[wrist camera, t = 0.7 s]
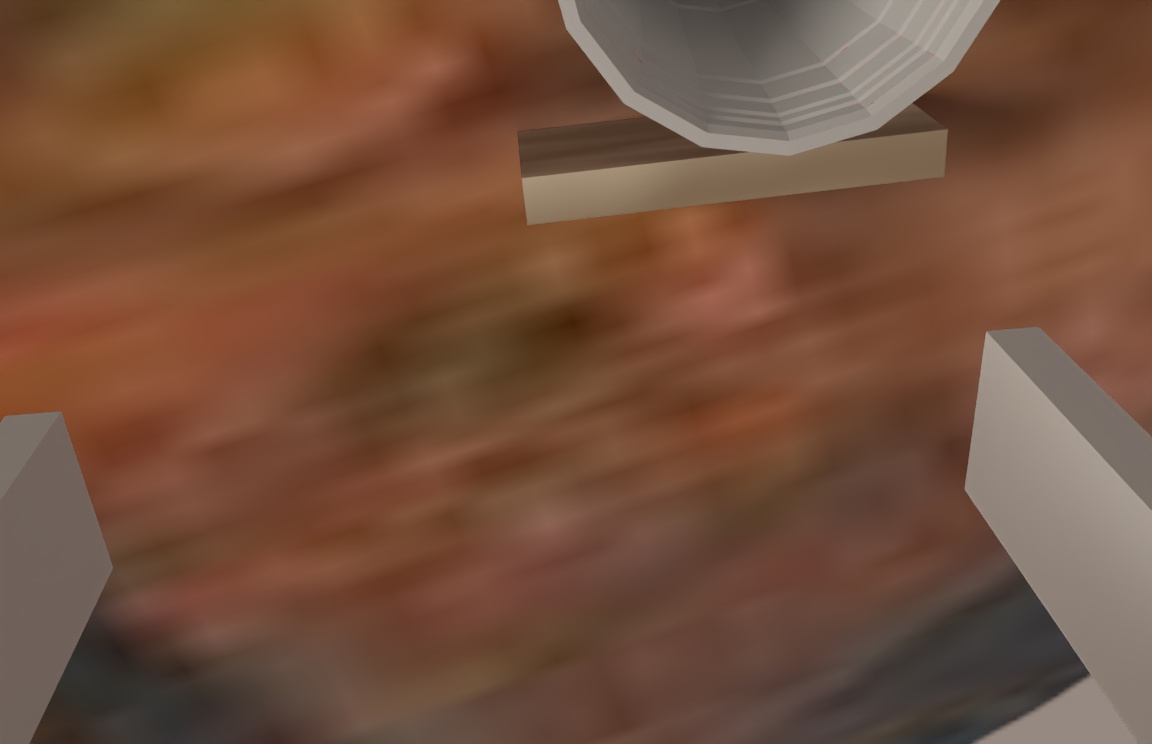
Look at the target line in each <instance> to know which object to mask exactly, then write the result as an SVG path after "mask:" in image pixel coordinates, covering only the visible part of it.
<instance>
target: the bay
mask: <svg viewBox="0 0 1152 744" xmlns="http://www.w3.org/2000/svg"><path fill="white" fill-rule="evenodd" d="M517 133H518V144H519V154H520V165H521V176H522V184H523V192H524V201H525V209H526V217H527V225H533V224H541V223H550V222H558V221H567V220H576V219H584V218H593V217H602V216H610V215H619V214H627V213H636V212H645V211H653V210H662V209H671V208H679V207H688V206H696V205H705V204H714V203H722V202H731V201H740V200H748V199H757V198H765V197H774V196H783V195H791V194H800V193H809V192H817V191H826V190H834V189H843V188H852V187H860V186H869V185H878V184H886V183H895V182H904V181H912V180H921V179H929V178H938V177H945V163H946V149H947V135H948V129H947V128H945V127H944V126H943V125H941V124H940V123H939V122H937V121H936V120H935V119H933V118H932V117H931V116H929V115H928V114H927V113H925V112H924V111H923V110H921V109H920V108H918V107H917V106H916V105H914V104H913V103H911V104H910V105H909V106H907V107H906V108H905V109H904V110H902V111H901V112H900V113H898V114H897V115H896V116H894V117H893V118H892V119H890V120H889V121H888V122H886V123H885V124H884V125H883V126H881V127H880V128H879V129H877V130H874V131H871V132H868V133H864V134H861V135H858V136H854V137H851V138H848V139H844V140H841V141H838V142H834V143H831V144H828V145H824V146H821V147H818V148H814V149H811V150H808V151H804V152H801V153H798V154H794V155H791V156H786V155H776V154H766V153H756V152H746V151H736V150H726V149H716V148H706V147H701V146H699V145H697V144H695V143H694V142H692V141H690V140H688V139H687V138H685V137H683V136H681V135H679V134H678V133H676V132H674V131H672V130H670V129H669V128H667V127H665V126H663V125H661V124H660V123H658V122H656V121H654V120H652V119H651V118H649V117H644V118H635V119H626V120H617V121H609V122H600V123H591V124H582V125H574V126H565V127H556V128H547V129H539V130H530V131H521V132H517Z"/></svg>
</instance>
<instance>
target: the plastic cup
mask: <svg viewBox="0 0 1152 744" xmlns="http://www.w3.org/2000/svg"><path fill="white" fill-rule="evenodd" d="M558 1H559V5H560V8H561V12H562V16H563V19H564V23H565V26H566V29H567V31H568V32H569V33H570V34H571V36H572V37H573V38H574V40H575V41H576V42H577V43H578V45H579V46H580V47H581V49H582V50H583V51H584V53H585V54H586V55H587V56H588V58H589V59H590V60H591V62H592V63H593V64H594V66H595V67H596V68H597V69H598V71H599V72H600V73H601V75H602V76H603V77H604V78H605V80H606V81H607V82H608V84H609V85H610V86H611V88H612V89H613V90H614V91H615V93H616V94H617V95H618V97H619V98H620V99H621V100H622V102H623V103H624V104H625V105H627V106H629V107H631V108H633V109H634V110H636V111H638V112H640V113H642V114H643V115H645V116H647V117H649V118H651V119H652V120H654V121H656V122H658V123H660V124H661V125H663V126H665V127H667V128H669V129H670V130H672V131H674V132H676V133H678V134H679V135H681V136H683V137H685V138H687V139H688V140H690V141H692V142H694V143H695V144H697V145H699V146H701V147H706V148H716V149H726V150H736V151H746V152H756V153H766V154H776V155H786V156H791V155H794V154H798V153H801V152H804V151H808V150H811V149H814V148H818V147H821V146H824V145H828V144H831V143H834V142H838V141H841V140H844V139H848V138H851V137H854V136H858V135H861V134H864V133H868V132H871V131H874V130H877V129H879V128H880V127H881V126H883V125H884V124H885V123H886V122H888V121H889V120H890V119H892V118H893V117H894V116H896V115H897V114H898V113H900V112H901V111H902V110H904V109H905V108H906V107H907V106H909V105H910V104H911V103H913V102H914V101H915V100H917V99H918V98H919V97H921V96H922V95H923V94H924V93H926V92H927V91H928V90H930V89H931V88H932V87H934V86H935V85H936V84H938V83H939V82H940V81H942V80H943V79H944V78H945V77H947V76H948V75H949V74H951V73H952V72H953V71H954V70H955V68H956V67H957V65H958V64H959V62H960V61H961V59H962V58H963V56H964V55H965V53H966V52H967V50H968V49H969V47H970V46H971V44H972V43H973V41H974V40H975V38H976V36H977V35H978V33H979V32H980V30H981V29H982V27H983V26H984V24H985V23H986V21H987V20H988V18H989V17H990V15H991V14H992V12H993V11H994V9H995V8H996V6H997V5H998V3H999V2H1000V0H558Z"/></svg>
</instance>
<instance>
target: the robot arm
mask: <svg viewBox="0 0 1152 744" xmlns="http://www.w3.org/2000/svg"><path fill="white" fill-rule="evenodd" d="M965 491H966V492H967V494H968V495H969V497H970V498H971V500H972V501H973V503H974V504H975V505H976V507H977V508H978V510H979V511H980V513H981V514H982V516H983V517H984V519H985V520H986V522H987V523H988V524H989V526H990V527H991V529H992V530H993V532H994V533H995V535H996V536H997V538H998V539H999V541H1000V542H1001V544H1002V545H1003V546H1004V548H1005V549H1006V551H1007V552H1008V554H1009V555H1010V557H1011V558H1012V560H1013V561H1014V563H1015V564H1016V565H1017V567H1018V568H1019V570H1020V571H1021V573H1022V574H1023V576H1024V577H1025V579H1026V580H1027V582H1028V583H1029V585H1030V586H1031V587H1032V589H1033V590H1034V592H1035V593H1036V595H1037V596H1038V598H1039V599H1040V601H1041V602H1042V604H1043V605H1044V606H1045V608H1046V609H1047V611H1048V612H1049V614H1050V615H1051V617H1052V618H1053V620H1054V621H1055V623H1056V624H1057V626H1058V627H1059V628H1060V630H1061V631H1062V633H1063V634H1064V636H1065V637H1066V639H1067V640H1068V642H1069V643H1070V645H1071V646H1072V647H1073V649H1074V650H1075V652H1076V653H1077V655H1078V656H1079V658H1080V659H1081V661H1082V662H1083V664H1084V665H1085V667H1086V668H1087V669H1088V671H1089V672H1090V674H1091V675H1092V677H1093V678H1094V680H1095V681H1096V682H1097V684H1098V686H1099V687H1100V688H1101V690H1102V691H1103V693H1104V694H1105V696H1106V697H1107V699H1108V700H1109V702H1110V703H1111V705H1112V706H1113V708H1114V709H1115V710H1116V712H1117V713H1118V715H1119V716H1120V718H1121V719H1122V721H1123V722H1124V724H1125V725H1126V727H1127V728H1128V729H1129V731H1130V732H1131V734H1132V735H1133V737H1134V738H1135V740H1136V741H1137V743H1138V744H1152V437H1151V436H1150V435H1149V434H1148V433H1147V432H1146V431H1145V430H1144V429H1143V428H1142V427H1141V426H1140V425H1139V424H1138V423H1137V422H1136V421H1135V420H1134V419H1133V418H1132V417H1131V416H1130V415H1129V414H1127V413H1126V412H1125V411H1124V410H1123V409H1122V408H1121V407H1120V406H1119V405H1118V404H1117V403H1116V402H1115V401H1114V400H1113V399H1112V398H1111V397H1110V396H1109V395H1108V394H1107V393H1106V392H1105V391H1104V390H1103V389H1102V388H1101V387H1100V386H1099V385H1098V384H1097V383H1096V382H1095V381H1094V380H1093V379H1092V378H1091V377H1090V376H1088V375H1087V374H1086V373H1085V372H1084V371H1083V370H1082V369H1081V368H1080V367H1079V366H1078V365H1077V364H1076V363H1075V362H1074V361H1073V360H1072V359H1071V358H1070V357H1069V356H1068V355H1067V354H1066V353H1065V352H1064V351H1063V350H1062V349H1061V348H1060V347H1059V346H1058V345H1057V344H1056V343H1055V342H1054V341H1053V340H1052V339H1051V338H1050V337H1048V336H1047V335H1046V334H1045V333H1044V332H1043V331H1042V330H1041V329H1040V328H1039V327H1030V328H1019V329H1007V330H995V331H986V337H985V344H984V352H983V359H982V366H981V374H980V381H979V388H978V396H977V403H976V410H975V418H974V425H973V432H972V440H971V447H970V454H969V462H968V469H967V476H966V484H965ZM112 569H113V566H112V563H111V560H110V557H109V554H108V551H107V548H106V545H105V542H104V539H103V536H102V533H101V530H100V527H99V524H98V521H97V518H96V515H95V512H94V509H93V506H92V503H91V500H90V497H89V494H88V491H87V488H86V485H85V482H84V479H83V476H82V473H81V470H80V467H79V464H78V461H77V458H76V455H75V452H74V449H73V446H72V443H71V440H70V437H69V434H68V431H67V428H66V425H65V422H64V419H63V416H62V413H61V411H60V412H49V413H37V414H26V415H14V416H5V417H4V419H3V420H2V421H1V423H0V744H29V743H30V741H31V739H32V737H33V735H34V732H35V730H36V728H37V726H38V724H39V722H40V720H41V718H42V716H43V714H44V711H45V709H46V707H47V705H48V703H49V701H50V699H51V697H52V695H53V693H54V691H55V688H56V686H57V684H58V682H59V680H60V678H61V676H62V674H63V672H64V670H65V667H66V665H67V663H68V661H69V659H70V657H71V655H72V653H73V651H74V649H75V647H76V644H77V642H78V640H79V638H80V636H81V634H82V632H83V630H84V628H85V626H86V623H87V621H88V619H89V617H90V615H91V613H92V611H93V609H94V607H95V605H96V603H97V600H98V598H99V596H100V594H101V592H102V590H103V588H104V586H105V584H106V582H107V579H108V577H109V575H110V573H111V571H112Z"/></svg>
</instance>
